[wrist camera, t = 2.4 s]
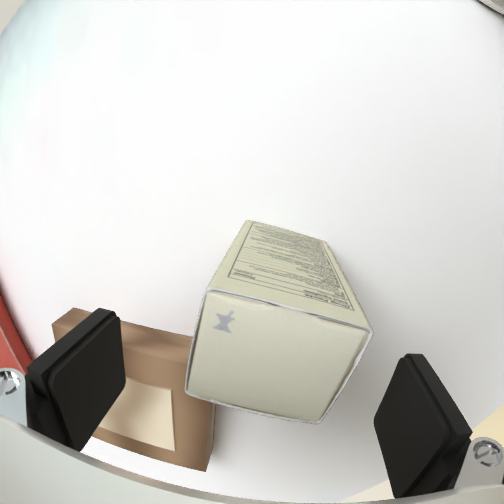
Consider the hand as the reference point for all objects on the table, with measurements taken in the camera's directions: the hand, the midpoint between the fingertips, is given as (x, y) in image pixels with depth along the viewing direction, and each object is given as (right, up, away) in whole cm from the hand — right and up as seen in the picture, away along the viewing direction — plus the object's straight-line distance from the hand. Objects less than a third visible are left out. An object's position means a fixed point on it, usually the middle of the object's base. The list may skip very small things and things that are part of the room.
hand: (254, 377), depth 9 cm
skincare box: (+2, +3, +9) cm, 10 cm away
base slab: (-9, -7, +13) cm, 17 cm away
